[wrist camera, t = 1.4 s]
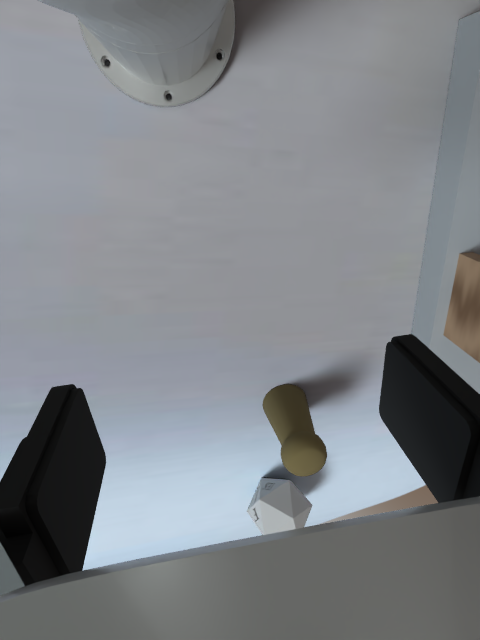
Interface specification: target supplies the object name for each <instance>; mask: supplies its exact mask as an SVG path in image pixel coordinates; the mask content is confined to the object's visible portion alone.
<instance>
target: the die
mask: <svg viewBox="0 0 480 640" xmlns="http://www.w3.org/2000/svg"><path fill="white" fill-rule="evenodd" d="M311 508H312V504H311V503H310V502H309V501H308V499H307V498H306V497H305V496H304V495H303V494H302V493H301V491H300V490H299V489H298V488H297V487H296V486H295V485H294V483H293V482H292V481H290V480H283V479H270V478H261V480H260V482H259V484H258V487H257V490H256V491H255V494H254V496H253V498H252V500H251V503H250V505H249V507H248V510H247V512H248V514H249V515H250V517H251V518H252V520H253V521H254V523H255V524H256V526H257V527H258V529H259V530H260V532H261V533H262V535H267V534H272V533H277V532H283V531H288V530H293V529H299V528H304V526H305V523H306V521H307V518H308V515H309V513H310V510H311Z"/></svg>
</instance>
